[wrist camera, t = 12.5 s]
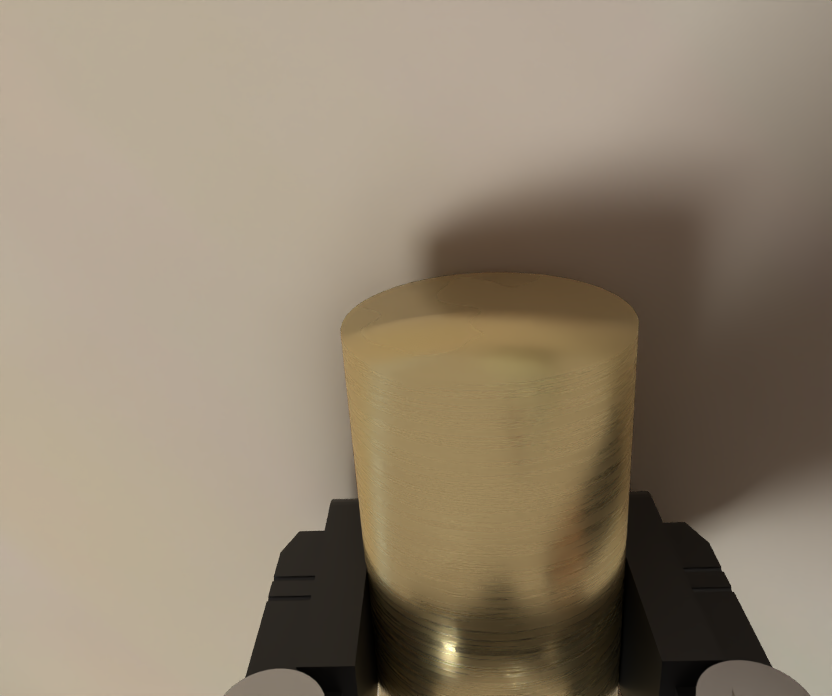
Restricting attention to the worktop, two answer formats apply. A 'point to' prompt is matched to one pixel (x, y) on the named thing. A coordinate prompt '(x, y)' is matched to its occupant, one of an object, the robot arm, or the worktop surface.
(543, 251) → the worktop surface
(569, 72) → the worktop surface
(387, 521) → the axle
